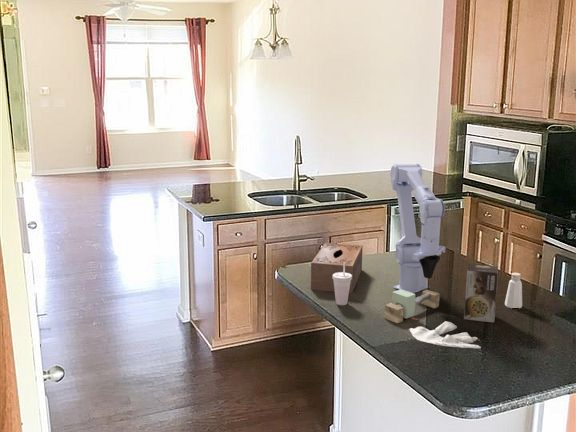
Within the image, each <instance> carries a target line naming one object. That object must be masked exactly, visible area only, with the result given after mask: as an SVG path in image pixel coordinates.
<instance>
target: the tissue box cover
mask: <svg viewBox="0 0 576 432" xmlns="http://www.w3.org/2000/svg"><path fill="white" fill-rule="evenodd" d="M343 262H345V273H349V274H351V275H352V279H351V282H350V288H349V294H352V293H353V291H354V289H355V287H356V284H357V282H358V280H359V277H360V275H361V273H362V270H363V245H358V244H345V243H331V242H324V244H323V245H322V247H321V248H320V249H319V251H318V252H317V254H316V256H314V258H313V259H312V261H311V262H310V264H311V265H310V290H312V291H315V290H316V291H324V292H334V293H335V290H334V280H333V278H332V277H333V274H334V273H338V272H343Z"/></svg>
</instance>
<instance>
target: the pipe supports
mask: <svg viewBox="0 0 576 432" xmlns="http://www.w3.org/2000/svg"><path fill="white" fill-rule="evenodd" d="M421 292H422V293H421V295H424V294H427V293H429V294H430V295H431V298H430V299H429V300H426V301H424V302H421V303H420V304H421V305H423V304H424V306H425V307H429V308H432V309H436V308H439V306H440V293H439V292H436V291H432V290H429V289H423V290H421ZM390 307H391V308H392V309H394V310H391V308H390ZM389 309H390V310H389ZM393 311H394V313H393ZM391 312H392V313H393V314H391ZM384 319H385V320H388V321H390V322H393V323H396V324H399V323H401V322H403V320H404V318H403V307H400V306H397V305H394V304H392V302H389V303H387V304H384ZM408 319H410V320H414V321H416V322H417V321H419V318H415V317H414V316H412V317H409V318H408Z"/></svg>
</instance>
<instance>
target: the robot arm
mask: <svg viewBox="0 0 576 432" xmlns="http://www.w3.org/2000/svg"><path fill="white" fill-rule="evenodd" d="M422 168H423V167H422V166H421V165H420V163H414V164H413V163H410V164H409V163H408V164H405V163H404V164H398V163H394V164H392V165H391V169H390V174H389V176H390V183H391V188H392V190H394V191H395V192H396V197H397V201H398V202H397V203H398V204H397V205H398V211H399V219H400V226H401V227H400V228H401V234H402V235H401V236H402V237H401V238H400V239H399V240H397V242H396V244H395V252H394V253H395V255H394V256H395V260H396V262H397V264H399V283H398V284H396V285H394V286H393V288H394V289H396V290H400V289H402V290H405V291H408V292H411V293H413V294H416V293H418V292H422V291H424V290H427V289H428V288H429V287H428V285H427V279H432V277H433V275H434V272H435V269H436V266H437V264H438V263H439V261H440V259H441V256H440V255H442V254H443V253H446V246H444V245H440V237H441V235H440V234H441V233H440V232H441V219H442V218H443V217H444V215H445V210H446V208H445V207H446V206H445V203H444V201H443V199H442V198H438V197H436V196H435V194H434V192H433V191H432V189H431V187H430V186H428V185H425V183H424V181H423V178H422V177H423V169H422ZM413 191H414V192H413ZM412 192H413V196H414V198H415V200H416V202H417V204H418V206H419V216H420V223H421V236H420V237H419V236H418V235H417V227H416V222H415V221H416V220H415V219H416V218H415V212H414V205H413V197H412Z"/></svg>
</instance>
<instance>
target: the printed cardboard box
mask: <svg viewBox="0 0 576 432" xmlns="http://www.w3.org/2000/svg"><path fill="white" fill-rule="evenodd" d="M498 275H499V267H498V266H494V265H493V266H492V265H482V264H481V265H480V264H470V263H469V264H467V268H466V281H465V282H466V284H465V299H464V313H463V314H464V315H463V320H469V321H477V322H487V323H492V324H493V323H495V321H496V320H495V317H496V308H497V307H496V305H497V304H496V303H497V291H498V277H499V276H498Z"/></svg>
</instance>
